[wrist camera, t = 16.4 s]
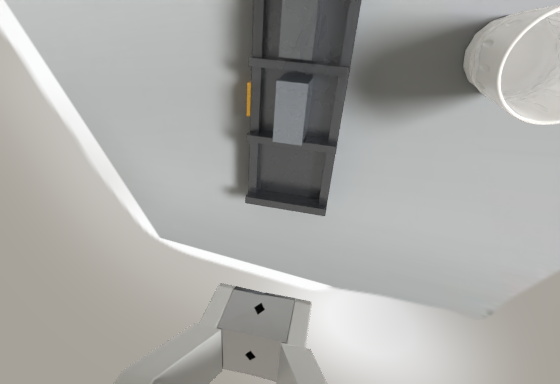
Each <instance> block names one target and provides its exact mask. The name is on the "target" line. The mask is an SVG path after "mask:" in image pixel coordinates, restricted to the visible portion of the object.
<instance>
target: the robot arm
mask: <svg viewBox="0 0 560 384" xmlns="http://www.w3.org/2000/svg"><path fill="white" fill-rule="evenodd" d="M311 305H312V304H311V302H310V301H305V300H300V299H296V300H295V298H291V297H285V296H280V295H275V294H269V293H262V292H258V291H254V290H250V289H245V288H241V287H237V286H236V287H235V286H231V285H227V284H222V283H221V284H220V285H219V286H218V287H217V289H216V291H215V293H214V295H213V297H212V299H211V301H210V303H209V305H208V307H207V309H206V311H205V313H204V315H203V317H202V319H201V321H200V323H199V324H196V323H194V324H192V325H191V326H189V327H188V328H186V329H185V330H183V331H182V332H180V333H179V334H177V335H176V336H174V337H173V338H171V339H170V340H168V341H167V342H165V343H164V344H162V345H161V346H159V347H158V348H156V349H155V350H153V351H152V352H150V353H148V354H147V355H146V356H144V357H142V358H141V359H139V360H138V361H136V362H135V363H133V364H132V365H130V366H129V367H127V368H126V369H124V370H123V371H121V373H120V374H119V376H118V377H117V379H116V380H115V382H114V383H113V384H209V383H210V382H211V381H212V380H213V379H214V378H215V377H216V376H217V375H218V374H219V373H220V372H221V371H222V369H226V370H231V371H236V372H240V373H245V374H250V375H253V376H257V377H261V378H264V379H268V380H272V381H275V382H276V384H327V382H326V380H325V378H324V376H323V374H322V372H321V370H320V368H319V366H318V364H317V362H316V359H315V357H314V355H313V353H312V351H311V349H307V348H306V342H307V334H308V327H309V320H310V312H311Z"/></svg>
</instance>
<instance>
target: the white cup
mask: <svg viewBox="0 0 560 384" xmlns="http://www.w3.org/2000/svg"><path fill="white" fill-rule="evenodd" d="M463 68H464V71H465V74H466V77H467V79H468V81H469V82H470V83H471V84H473V85H474V86H475V87H477V89H478V90H479V91H480V92H481V93H482V94H483V95H485V96H486V97H487V98H488V99H490V100H491V101H492V102H493V103H495V104H496V105H498V106H499V107H501V108H502V109H504V110H505V111H506V112H508V113H509V114H511V115H512V116H513V117H515V118H517V119H519V120H521V121H523V122H527V123H531V124H538V125H549V124H557V123H560V5H556V6H549V7H543V8H537V9H532V10H528V11H524V12H519V13H515V14H512V15H508V16H505V17H502V18H499V19H496V20H493V21H491V22H490V23H488V24H487V25H486V26H485V27H483V28H482V29H481V30H480V31H478V32H477V33H476V34H475V35H474V37H473V39H472V40H471V42H470V44H469V45H468V47H467V49H466V50H465V57H464V64H463Z"/></svg>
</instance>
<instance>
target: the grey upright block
mask: <svg viewBox="0 0 560 384" xmlns="http://www.w3.org/2000/svg"><path fill="white" fill-rule="evenodd" d="M313 78H314V76H308V75H299V74H289V73H285V74H284V75H283V76H282V77H280V78H279V79H278V80H277V81H276V96H275V112H274V128H273V142H279V143H286V144H293V145H301V146H302V143H303V141H304V138H305V135H306V133H307V129H308V120H309V112H310V103H311V95H312V86H313Z"/></svg>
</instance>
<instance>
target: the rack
mask: <svg viewBox="0 0 560 384" xmlns="http://www.w3.org/2000/svg"><path fill="white" fill-rule="evenodd" d="M360 6H361V0H254V7H253V43H252V57H249V64H248V66H252V80H251V81H249V82H247V116H251V117H250V132H249V133H248V134H247V142H250V153H249V190H248V193H247V195H246V198H245V203H249V204H255V205H261V206H267V207H273V208H279V209H285V210H291V211H297V212H303V213H309V214H315V215H321V216H325V213H326V206H327V200H328V194H329V188H330V182H331V176H332V170H333V164H334V159H335V154H336V148H337V141H338V135H339V129H340V123H341V117H342V111H343V106H344V100H345V94H346V88H347V82H348V77H349V72H350V64H351V59H352V53H353V47H354V41H355V35H356V29H357V23H358V17H359V11H360ZM285 73H289V74H299V75H308V76H314V78H313V86H312V95H311V103H310V112H309V120H308V129H307V133H306V135H305V138H304V141H303V143H302V146H301V145H293V144H286V143H279V142H273V128H274V112H275V96H276V81H277V80H278V79H279V78H280V77H282V76H283V75H284V74H285Z"/></svg>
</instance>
